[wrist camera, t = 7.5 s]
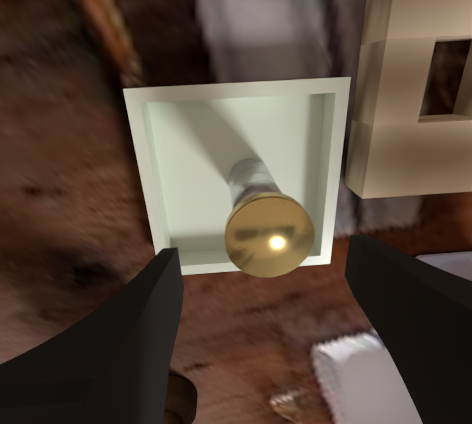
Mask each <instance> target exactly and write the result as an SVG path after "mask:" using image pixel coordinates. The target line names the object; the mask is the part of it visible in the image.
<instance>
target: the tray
mask: <svg viewBox="0 0 472 424" xmlns="http://www.w3.org/2000/svg"><path fill="white" fill-rule="evenodd" d="M350 81H351V77H334V78H315V79H296V80H277V81H258V82H239V83H220V84H201V85H182V86H163V87H144V88H128V89H123V92H124V97H125V102H126V107H127V112H128V117H129V122H130V127H131V132H132V137H133V142H134V147H135V152H136V157H137V162H138V167H139V172H140V177H141V182H142V187H143V192H144V197H145V202H146V208H147V213H148V218H149V223H150V228H151V233H152V238H153V243H154V248H155V253H156V255H157V254H158V253H159V252H160V251H161V250H162V249H163V248H176V247H178V254H179V260H180V266H181V273H182V275H187V274H201V273H214V272H227V271H240V269H238V268H237V267H236V266H235V265H234V264H233V263H232V261H231V260H230V258H229V257H228V254H227V252H226V248H225V235H224V233H225V224H226V221H227V219H228V217H229V215H230V213H231V212H232V203H231V195H230V186H229V174H230V171H231V169H232V167H233V166H234V165H235V164H236V163H237V162H239V161H241V160H243V159H247V158H253V159H257V160H259V161H261V162H263V163H264V164H265V165H266V167H267V168H268V170H269V172H270V173H271V175H272V177H273V178H274V180H275V182H276V184H277V185H278V187H279V189H280V190H281V192H282V194H285V195H288V196H290V197H292V198H293V199H295V200H296V201H297V202H299V203H300V204H301V206H302V207H303V208H304V210H305V211H306V212H307V214H308V215H309V217H310V219H311V221H312V223H313V226H314V232H315V239H314V244H313V247H312V249H311V251H310V253H309V255H308V256H307V258H306V259H305V260H304V261H303V262H302V263H301V264H300V265H299V266H306V265H319V264H330V259H331V250H332V241H333V232H334V223H335V214H336V206H337V197H338V188H339V179H340V170H341V161H342V152H343V143H344V134H345V125H346V116H347V108H348V99H349V90H350Z"/></svg>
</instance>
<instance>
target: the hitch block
mask: <svg viewBox="0 0 472 424" xmlns="http://www.w3.org/2000/svg"><path fill="white" fill-rule="evenodd" d="M465 40H472V0H366V6H365V14H364V23H363V31H362V39H361V48H360V56H359V64H358V72H357V81H356V89H355V97H354V106H353V114H352V122H351V131H350V139H349V147H348V155H347V164H346V172H345V180H344V185H346V186H347V187H348V188H349V189H351V190H352V191H353V192H354V193H356V194H357V195H358V196H359V197H361V198H362V199H367V198H381V197H396V196H411V195H425V194H440V193H455V192H469V191H472V41H471V45H470V49H469V52H468V56H467V60H466V64H465V68H464V72H463V75H462V79H461V83H460V87H459V91H458V94H457V98H456V102H455V106H454V110H453V113H452V114H444V115H427V116H419V115H420V110H421V106H422V101H423V96H424V92H425V87H426V83H427V78H428V73H429V69H430V64H431V59H432V55H433V50H434V46H435V42H445V41H465Z"/></svg>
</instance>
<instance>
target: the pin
mask: <svg viewBox="0 0 472 424" xmlns="http://www.w3.org/2000/svg"><path fill="white" fill-rule="evenodd" d="M229 186H230V195H231V203H232V212H231V213H230V215H229V217H228V219H227V221H226V224H225V233H224V235H225V248H226V252H227V254H228V257H229V258H230V260H231V261H232V263H233V264H234V265H235V266H236V267H237V268H238V269H240V270H241V271H243V272H245V273H247V274H250V275H252V276H257V277H275V276H280V275H283V274H286V273H288V272H290V271H292V270H294V269H295V268H296V267H298V266H299V265H300V264H301V263H302V262H303V261H304V260H305V259H306V258H307V256H308V255H309V253H310V251H311V249H312V247H313V244H314V239H315V232H314V226H313V223H312V221H311V219H310V217H309V215H308V214H307V212H306V211H305V210H304V208H303V207H302V206H301V204H300V203H299V202H297V201H296V200H295V199H293V198H292V197H290V196H288V195H285V194H282V192H281V190H280V189H279V187H278V185H277V184H276V182H275V180H274V178H273V177H272V175H271V173H270V172H269V170H268V168H267V167H266V165H265V164H264V163H263V162H261V161H259V160H257V159H253V158H247V159H243V160H241V161H239V162H237V163H236V164H235V165H234V166H233V167H232V169H231V171H230V174H229Z"/></svg>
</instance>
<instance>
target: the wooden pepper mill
mask: <svg viewBox="0 0 472 424" xmlns="http://www.w3.org/2000/svg"><path fill="white" fill-rule="evenodd" d="M196 407H197V390H196V388H195V386H194V385H193V384H192V383H191V382H190V381H188V380H187V379H185V378H182V377H177V376H174V375H168V382H167V390H166V399H165V408H164V418H163V424H192V423H193V421H194V419H195V416H196Z"/></svg>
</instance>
